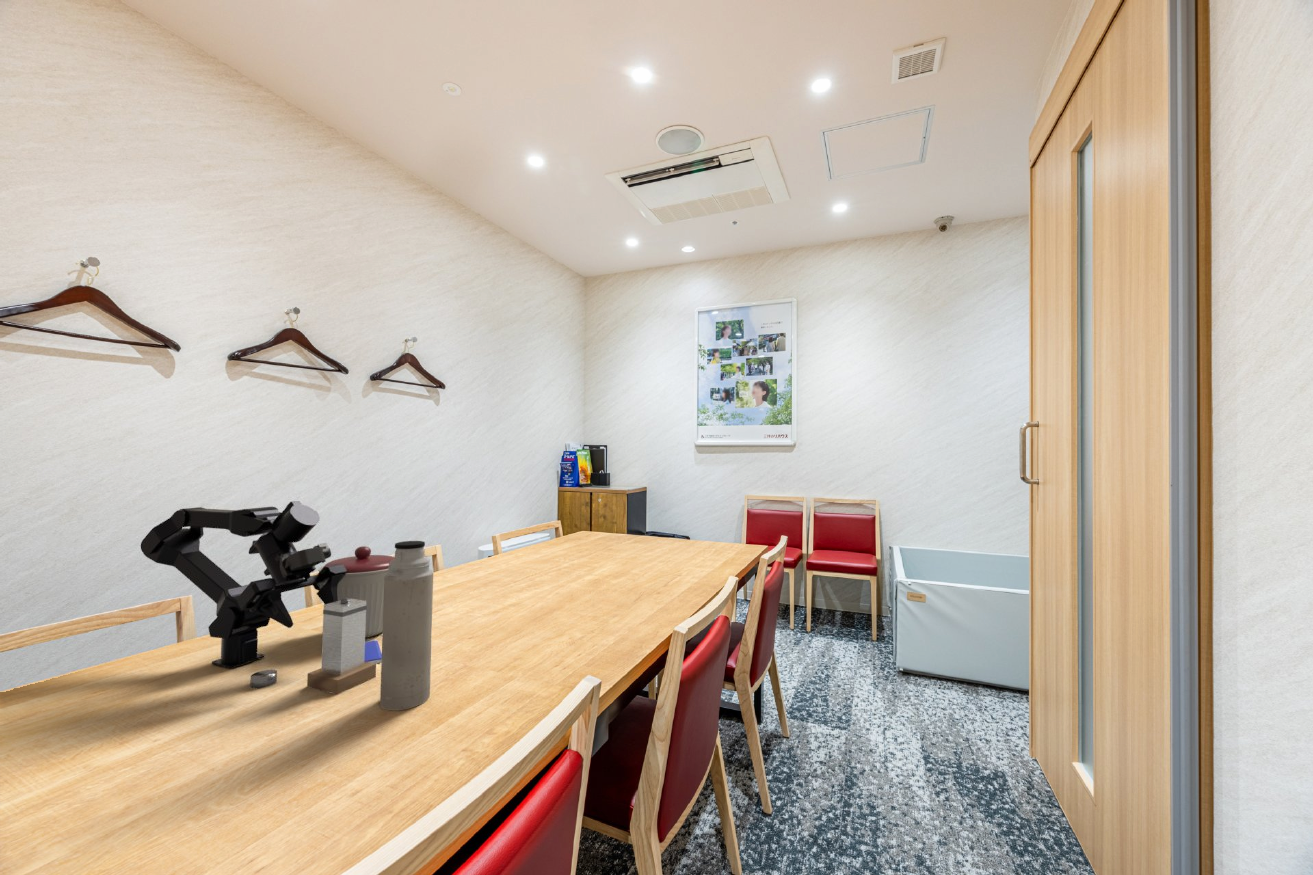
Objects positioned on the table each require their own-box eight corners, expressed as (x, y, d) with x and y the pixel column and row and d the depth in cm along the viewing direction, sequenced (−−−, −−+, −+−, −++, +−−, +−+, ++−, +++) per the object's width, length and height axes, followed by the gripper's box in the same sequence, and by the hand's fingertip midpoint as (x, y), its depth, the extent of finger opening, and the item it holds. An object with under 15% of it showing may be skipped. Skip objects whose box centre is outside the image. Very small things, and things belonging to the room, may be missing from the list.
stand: (307, 686, 95) (307, 673, 95) (346, 670, 103) (346, 657, 103) (337, 694, 92) (338, 680, 92) (375, 676, 100) (376, 663, 100)
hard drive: (335, 646, 113) (337, 665, 102) (377, 639, 117) (383, 657, 107) (335, 653, 113) (337, 673, 102) (377, 646, 117) (383, 664, 107)
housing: (320, 671, 96) (323, 601, 97) (345, 661, 101) (347, 594, 101) (340, 675, 94) (343, 604, 95) (364, 665, 99) (366, 597, 100)
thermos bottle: (405, 686, 96) (410, 537, 97) (439, 693, 93) (443, 539, 94) (369, 705, 88) (374, 543, 89) (405, 713, 85) (410, 546, 87)
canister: (379, 616, 137) (382, 538, 138) (415, 630, 126) (418, 545, 127) (302, 635, 122) (306, 547, 123) (335, 652, 112) (339, 556, 113)
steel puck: (244, 688, 94) (244, 677, 95) (262, 679, 98) (263, 668, 99) (264, 689, 94) (264, 678, 94) (282, 680, 98) (282, 669, 98)
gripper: (251, 539, 94) (288, 607, 90) (344, 526, 112) (378, 583, 108) (221, 576, 97) (256, 644, 93) (316, 558, 114) (349, 615, 110)
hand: (314, 619), depth 101 cm, fingers open, 9 cm apart
